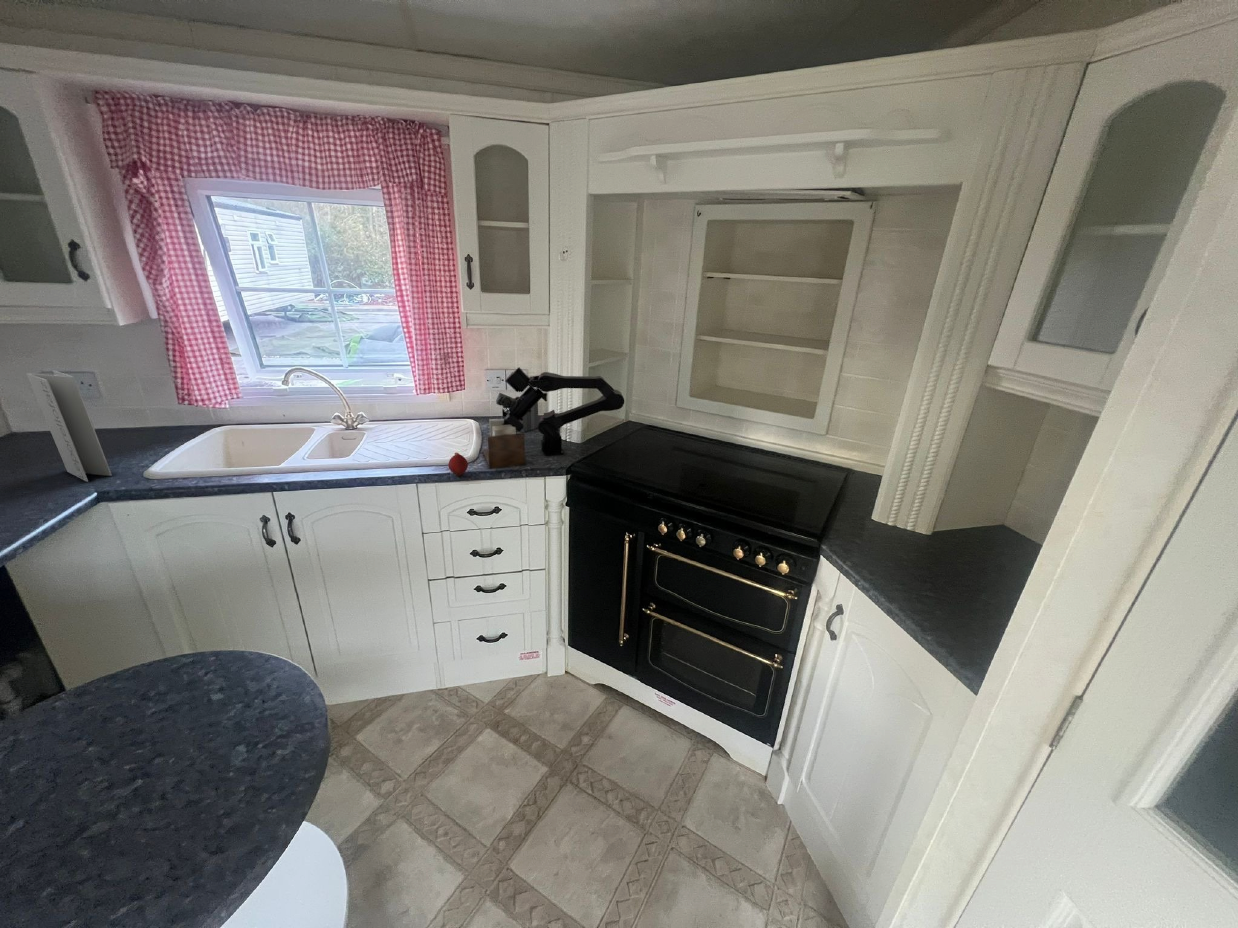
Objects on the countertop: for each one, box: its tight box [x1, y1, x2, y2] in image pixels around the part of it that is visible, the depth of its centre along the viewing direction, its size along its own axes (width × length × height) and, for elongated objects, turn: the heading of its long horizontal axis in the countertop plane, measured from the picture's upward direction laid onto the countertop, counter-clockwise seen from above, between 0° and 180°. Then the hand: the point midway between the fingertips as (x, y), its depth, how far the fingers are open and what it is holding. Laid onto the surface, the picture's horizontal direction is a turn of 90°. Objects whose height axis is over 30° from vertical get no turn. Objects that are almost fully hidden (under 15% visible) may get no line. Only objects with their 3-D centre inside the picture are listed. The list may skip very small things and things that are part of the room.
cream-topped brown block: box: [482, 425, 526, 469], centre depth 171 cm, size 12×16×13 cm
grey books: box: [513, 397, 539, 433], centre depth 203 cm, size 9×7×13 cm
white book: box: [488, 418, 504, 436], centre depth 174 cm, size 2×7×12 cm, turn 106°
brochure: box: [26, 370, 113, 483], centre depth 143 cm, size 14×6×30 cm, turn 62°
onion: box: [448, 451, 469, 477], centre depth 157 cm, size 6×6×8 cm
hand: (496, 432), depth 174 cm, fingers open, 5 cm apart
